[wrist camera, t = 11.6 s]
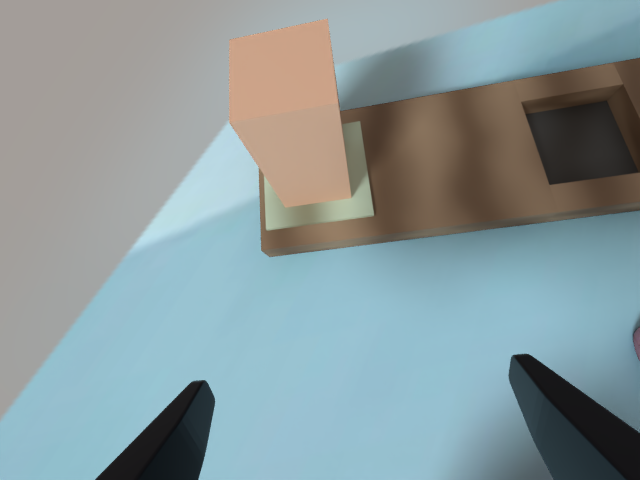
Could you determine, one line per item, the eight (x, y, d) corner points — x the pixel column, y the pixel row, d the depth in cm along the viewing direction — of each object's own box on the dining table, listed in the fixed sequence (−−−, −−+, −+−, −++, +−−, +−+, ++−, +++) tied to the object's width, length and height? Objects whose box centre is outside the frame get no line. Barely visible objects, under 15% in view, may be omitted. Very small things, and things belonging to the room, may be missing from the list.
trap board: (629, 77, 25) (653, 52, 23) (691, 203, 22) (726, 189, 20) (265, 139, 29) (256, 123, 27) (269, 256, 25) (260, 249, 23)
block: (344, 140, 25) (327, 18, 15) (351, 198, 23) (338, 103, 14) (282, 150, 25) (229, 39, 16) (285, 207, 24) (229, 122, 14)
